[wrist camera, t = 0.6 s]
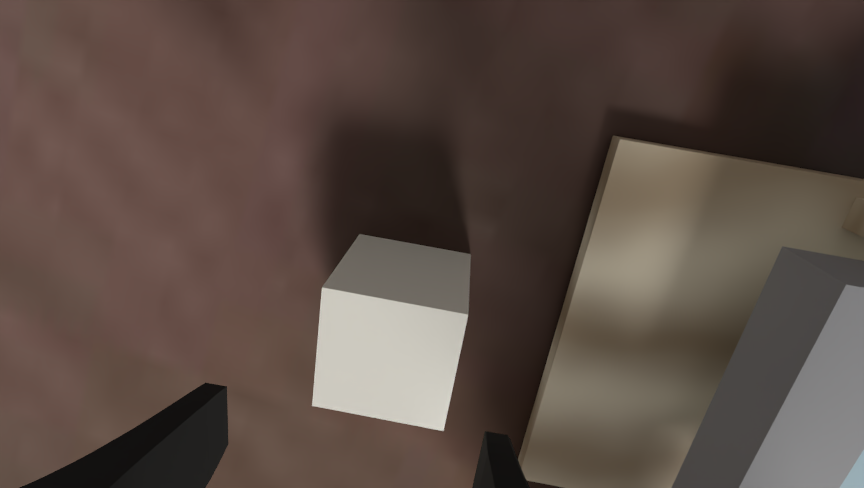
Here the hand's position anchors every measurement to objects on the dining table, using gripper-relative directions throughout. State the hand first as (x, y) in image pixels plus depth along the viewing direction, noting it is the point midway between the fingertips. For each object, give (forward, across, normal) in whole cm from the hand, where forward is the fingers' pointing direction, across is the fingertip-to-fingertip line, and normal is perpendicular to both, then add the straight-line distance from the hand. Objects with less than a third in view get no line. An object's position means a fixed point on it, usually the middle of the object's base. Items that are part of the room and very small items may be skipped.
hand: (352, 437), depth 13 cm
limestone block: (+10, 0, 0) cm, 10 cm away
